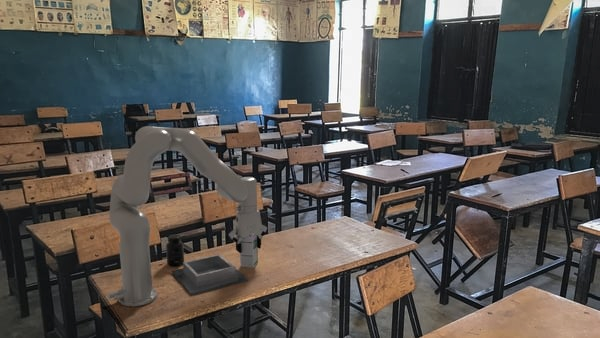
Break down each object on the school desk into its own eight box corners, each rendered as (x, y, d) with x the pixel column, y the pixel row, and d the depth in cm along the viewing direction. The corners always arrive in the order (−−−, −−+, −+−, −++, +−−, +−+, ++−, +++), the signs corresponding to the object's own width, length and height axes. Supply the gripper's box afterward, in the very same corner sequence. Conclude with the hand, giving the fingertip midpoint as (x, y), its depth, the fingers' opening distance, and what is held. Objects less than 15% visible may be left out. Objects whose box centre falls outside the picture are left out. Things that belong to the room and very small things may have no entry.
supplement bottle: (166, 262, 186) (164, 234, 184) (182, 259, 189) (181, 232, 187) (168, 268, 180) (166, 240, 178) (185, 265, 183) (184, 237, 180)
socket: (191, 295, 158) (190, 282, 157) (172, 273, 176) (171, 261, 175) (247, 280, 169) (247, 268, 168) (224, 261, 187) (223, 249, 186)
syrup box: (254, 268, 180) (253, 233, 178) (239, 266, 182) (239, 232, 179) (258, 262, 186) (257, 229, 183) (244, 261, 187) (243, 228, 184)
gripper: (231, 214, 171) (232, 257, 175) (271, 207, 181) (272, 248, 184) (223, 209, 178) (225, 251, 181) (262, 202, 187) (263, 242, 190)
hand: (248, 249), depth 182 cm, fingers closed on syrup box, 8 cm apart
